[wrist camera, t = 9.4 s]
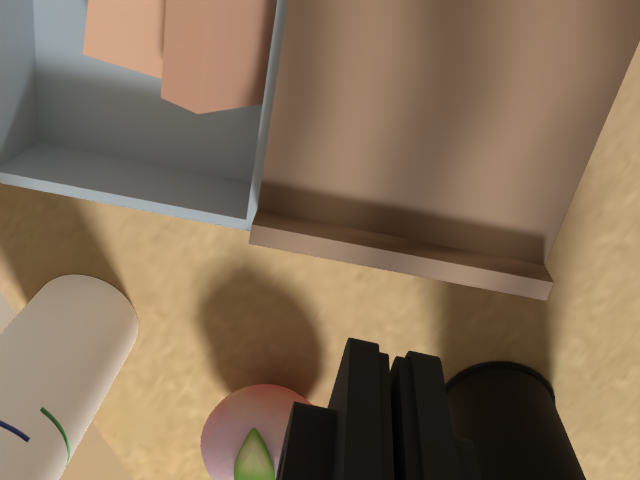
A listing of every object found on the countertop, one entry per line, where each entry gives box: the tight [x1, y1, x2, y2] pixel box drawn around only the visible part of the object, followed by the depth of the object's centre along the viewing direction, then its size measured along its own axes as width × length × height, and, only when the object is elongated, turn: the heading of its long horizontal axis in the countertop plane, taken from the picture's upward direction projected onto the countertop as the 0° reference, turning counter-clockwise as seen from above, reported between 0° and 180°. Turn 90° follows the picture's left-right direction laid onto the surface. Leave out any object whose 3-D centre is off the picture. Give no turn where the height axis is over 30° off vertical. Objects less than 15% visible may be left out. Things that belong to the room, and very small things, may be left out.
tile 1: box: [161, 0, 277, 114], centre depth 28 cm, size 5×5×2 cm
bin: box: [0, 0, 288, 231], centre depth 28 cm, size 14×16×6 cm
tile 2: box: [83, 0, 166, 79], centre depth 29 cm, size 5×5×2 cm
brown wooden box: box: [249, 0, 640, 301], centre depth 27 cm, size 14×14×9 cm
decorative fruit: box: [201, 384, 312, 480], centre depth 38 cm, size 9×8×10 cm
